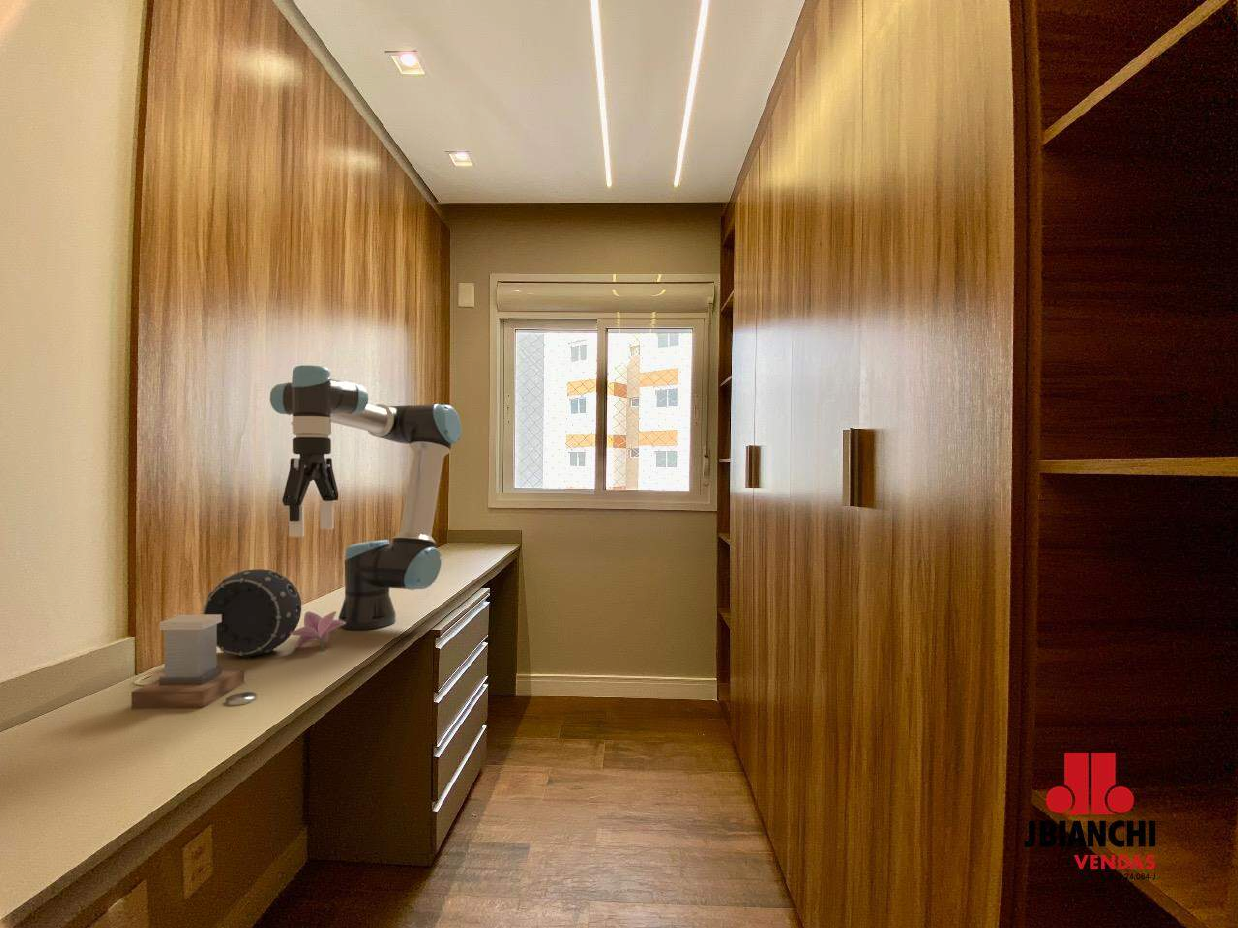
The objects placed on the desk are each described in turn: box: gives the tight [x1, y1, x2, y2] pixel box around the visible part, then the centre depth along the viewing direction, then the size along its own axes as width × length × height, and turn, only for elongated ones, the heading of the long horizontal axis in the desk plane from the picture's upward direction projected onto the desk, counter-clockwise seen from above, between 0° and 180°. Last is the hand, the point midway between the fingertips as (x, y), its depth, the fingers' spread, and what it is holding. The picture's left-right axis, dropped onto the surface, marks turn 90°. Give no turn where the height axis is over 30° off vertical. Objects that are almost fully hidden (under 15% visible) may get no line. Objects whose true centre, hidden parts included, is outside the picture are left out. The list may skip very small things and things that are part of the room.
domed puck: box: [225, 691, 258, 707], centre depth 117 cm, size 5×5×1 cm
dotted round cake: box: [202, 568, 302, 659], centre depth 146 cm, size 11×20×20 cm, turn 91°
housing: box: [158, 613, 222, 685], centre depth 120 cm, size 6×8×12 cm
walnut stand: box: [130, 667, 245, 709], centre depth 120 cm, size 13×13×3 cm
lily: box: [290, 610, 346, 652], centre depth 150 cm, size 12×12×10 cm
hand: (312, 532), depth 136 cm, fingers open, 13 cm apart
